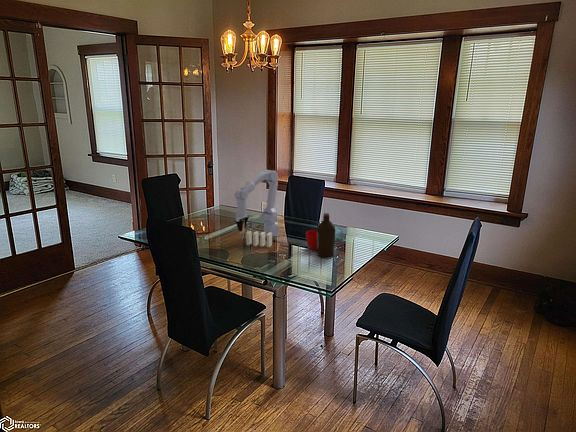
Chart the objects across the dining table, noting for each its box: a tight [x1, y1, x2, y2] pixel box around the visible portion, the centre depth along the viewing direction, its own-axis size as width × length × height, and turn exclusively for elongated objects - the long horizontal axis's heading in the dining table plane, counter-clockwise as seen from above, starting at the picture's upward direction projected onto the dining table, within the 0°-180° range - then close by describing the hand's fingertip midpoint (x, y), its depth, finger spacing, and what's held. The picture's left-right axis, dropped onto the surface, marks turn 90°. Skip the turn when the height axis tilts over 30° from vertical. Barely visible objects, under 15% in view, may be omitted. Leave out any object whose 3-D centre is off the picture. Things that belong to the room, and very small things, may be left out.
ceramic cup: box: [305, 229, 317, 252], centre depth 248 cm, size 13×17×10 cm
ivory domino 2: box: [252, 230, 260, 247], centre depth 254 cm, size 2×5×8 cm, turn 163°
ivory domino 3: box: [259, 231, 266, 247], centre depth 253 cm, size 2×5×8 cm, turn 163°
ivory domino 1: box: [245, 230, 253, 246], centre depth 255 cm, size 2×5×8 cm, turn 163°
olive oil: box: [316, 212, 336, 259], centre depth 233 cm, size 11×11×25 cm
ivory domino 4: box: [266, 232, 273, 248], centre depth 251 cm, size 2×5×8 cm, turn 163°
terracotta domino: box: [238, 219, 246, 235], centre depth 255 cm, size 2×5×8 cm, turn 163°
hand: (242, 229), depth 255 cm, fingers closed on terracotta domino, 5 cm apart
